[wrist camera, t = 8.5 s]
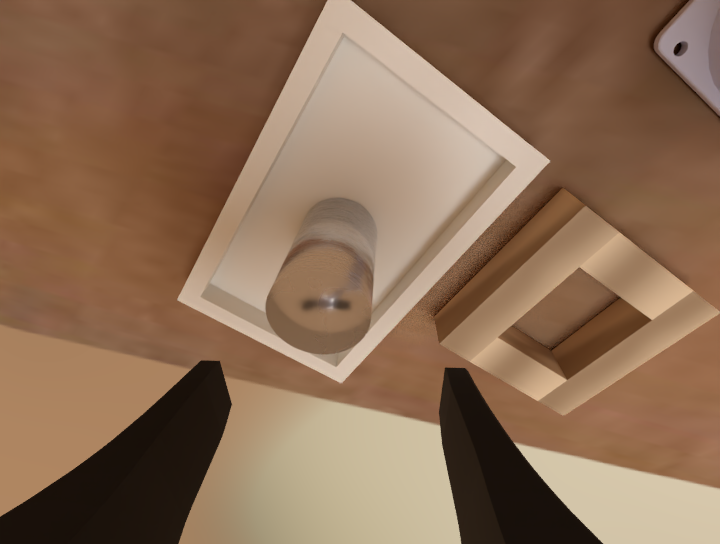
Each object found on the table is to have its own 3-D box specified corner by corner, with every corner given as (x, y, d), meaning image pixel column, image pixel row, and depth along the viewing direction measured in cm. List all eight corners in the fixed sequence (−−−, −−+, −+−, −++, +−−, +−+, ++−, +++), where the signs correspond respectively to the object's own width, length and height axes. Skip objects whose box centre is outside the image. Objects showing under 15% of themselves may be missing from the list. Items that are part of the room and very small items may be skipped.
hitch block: (687, 285, 21) (720, 312, 19) (548, 385, 26) (563, 416, 24) (562, 187, 19) (585, 205, 17) (434, 316, 23) (439, 343, 21)
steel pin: (387, 253, 21) (386, 340, 15) (321, 273, 22) (295, 363, 16) (360, 186, 19) (345, 256, 13) (289, 212, 20) (245, 288, 14)
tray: (534, 150, 18) (550, 161, 16) (344, 360, 26) (341, 383, 24) (339, -7, 15) (334, -14, 14) (192, 281, 23) (177, 300, 21)
